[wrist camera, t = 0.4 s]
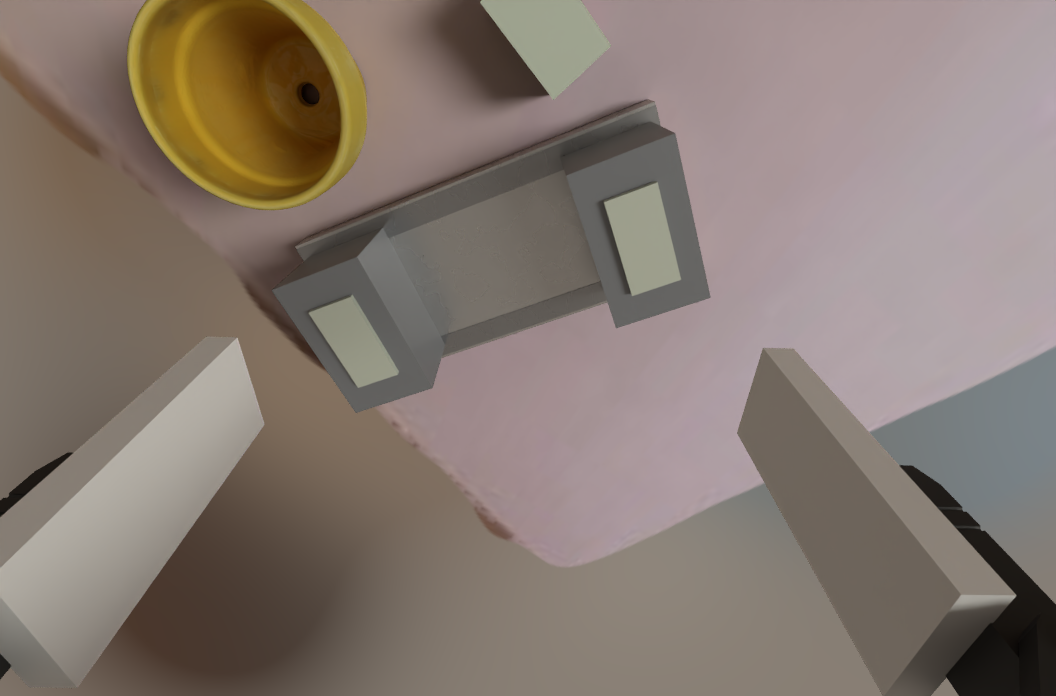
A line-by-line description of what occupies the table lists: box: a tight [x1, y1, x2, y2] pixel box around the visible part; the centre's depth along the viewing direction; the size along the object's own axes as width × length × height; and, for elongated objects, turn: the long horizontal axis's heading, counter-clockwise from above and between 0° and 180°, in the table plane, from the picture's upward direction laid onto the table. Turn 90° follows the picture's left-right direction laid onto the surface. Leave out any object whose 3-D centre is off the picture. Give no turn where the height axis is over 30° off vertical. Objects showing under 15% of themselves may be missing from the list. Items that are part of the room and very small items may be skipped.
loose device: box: [480, 0, 611, 100], centre depth 28 cm, size 6×4×5 cm, turn 41°
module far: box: [272, 228, 445, 413], centre depth 35 cm, size 10×6×6 cm, turn 21°
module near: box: [560, 122, 710, 328], centre depth 31 cm, size 10×6×6 cm, turn 21°
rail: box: [295, 100, 660, 358], centre depth 37 cm, size 12×26×2 cm, turn 111°
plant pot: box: [127, 0, 367, 210], centre depth 28 cm, size 10×10×10 cm
